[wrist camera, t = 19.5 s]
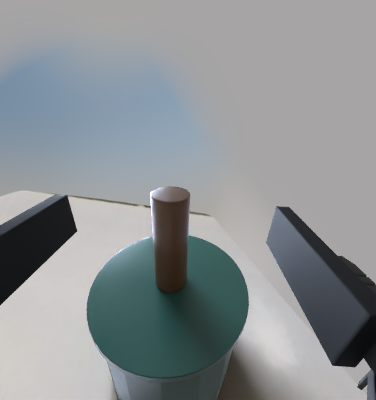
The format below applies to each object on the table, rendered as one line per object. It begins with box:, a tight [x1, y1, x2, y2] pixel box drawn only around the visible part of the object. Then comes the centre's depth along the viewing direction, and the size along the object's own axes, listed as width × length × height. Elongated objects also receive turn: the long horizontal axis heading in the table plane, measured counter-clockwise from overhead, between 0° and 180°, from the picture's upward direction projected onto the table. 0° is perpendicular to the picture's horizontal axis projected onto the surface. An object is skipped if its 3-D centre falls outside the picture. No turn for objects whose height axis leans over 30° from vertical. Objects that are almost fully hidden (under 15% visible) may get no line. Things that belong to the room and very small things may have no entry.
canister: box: [107, 349, 233, 400], centre depth 19 cm, size 13×13×10 cm
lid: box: [87, 187, 249, 383], centre depth 15 cm, size 14×14×10 cm
